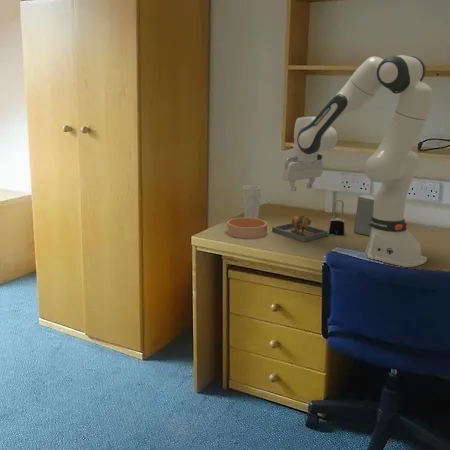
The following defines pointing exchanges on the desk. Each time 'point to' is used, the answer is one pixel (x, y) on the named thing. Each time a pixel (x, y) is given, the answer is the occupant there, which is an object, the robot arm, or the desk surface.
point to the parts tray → (282, 231)
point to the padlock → (337, 222)
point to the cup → (251, 200)
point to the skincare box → (364, 215)
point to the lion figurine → (300, 223)
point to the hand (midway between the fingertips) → (301, 189)
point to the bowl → (247, 228)
